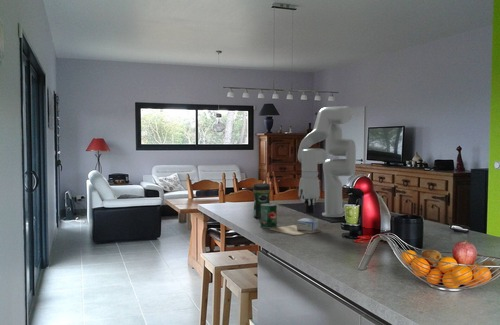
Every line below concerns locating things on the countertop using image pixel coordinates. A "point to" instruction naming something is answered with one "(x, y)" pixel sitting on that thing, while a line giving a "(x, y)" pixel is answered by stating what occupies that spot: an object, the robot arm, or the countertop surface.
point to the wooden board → (292, 230)
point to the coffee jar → (260, 197)
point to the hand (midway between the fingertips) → (309, 213)
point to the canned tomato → (268, 215)
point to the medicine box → (307, 224)
